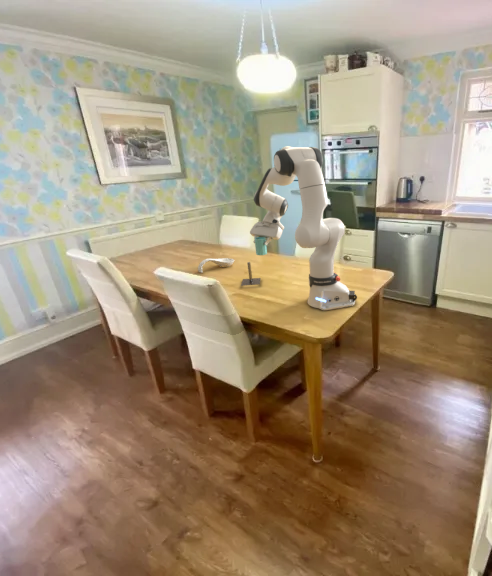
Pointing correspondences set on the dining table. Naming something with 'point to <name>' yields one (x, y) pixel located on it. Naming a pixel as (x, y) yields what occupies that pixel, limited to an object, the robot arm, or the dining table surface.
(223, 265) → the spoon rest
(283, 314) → the dining table surface
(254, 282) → the stand
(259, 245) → the teal hollow cylinder
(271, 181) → the robot arm
